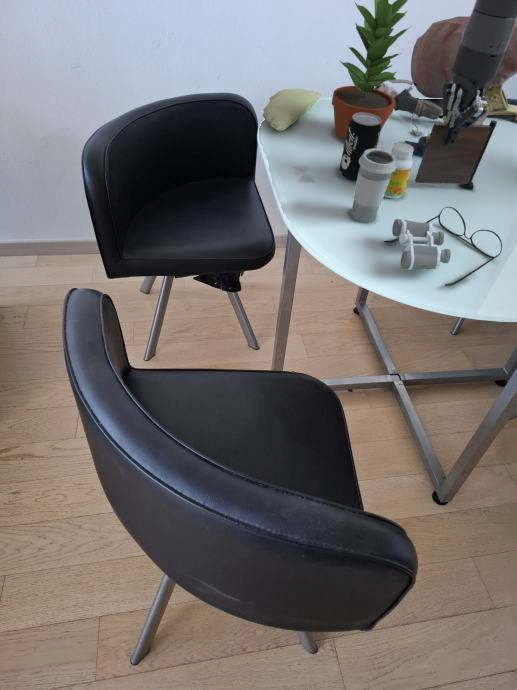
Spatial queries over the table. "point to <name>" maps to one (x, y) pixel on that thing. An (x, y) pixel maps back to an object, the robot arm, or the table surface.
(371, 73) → the potted plant
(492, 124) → the upright peg on plate
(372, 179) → the cup
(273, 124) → the dumpling
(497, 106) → the sandal
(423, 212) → the table surface
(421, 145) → the doorbell
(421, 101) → the toy
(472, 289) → the table surface
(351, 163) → the beverage can
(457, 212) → the glasses
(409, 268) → the binoculars
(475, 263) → the table surface
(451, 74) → the sculpture
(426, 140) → the bell button
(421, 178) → the door
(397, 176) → the supplement bottle
